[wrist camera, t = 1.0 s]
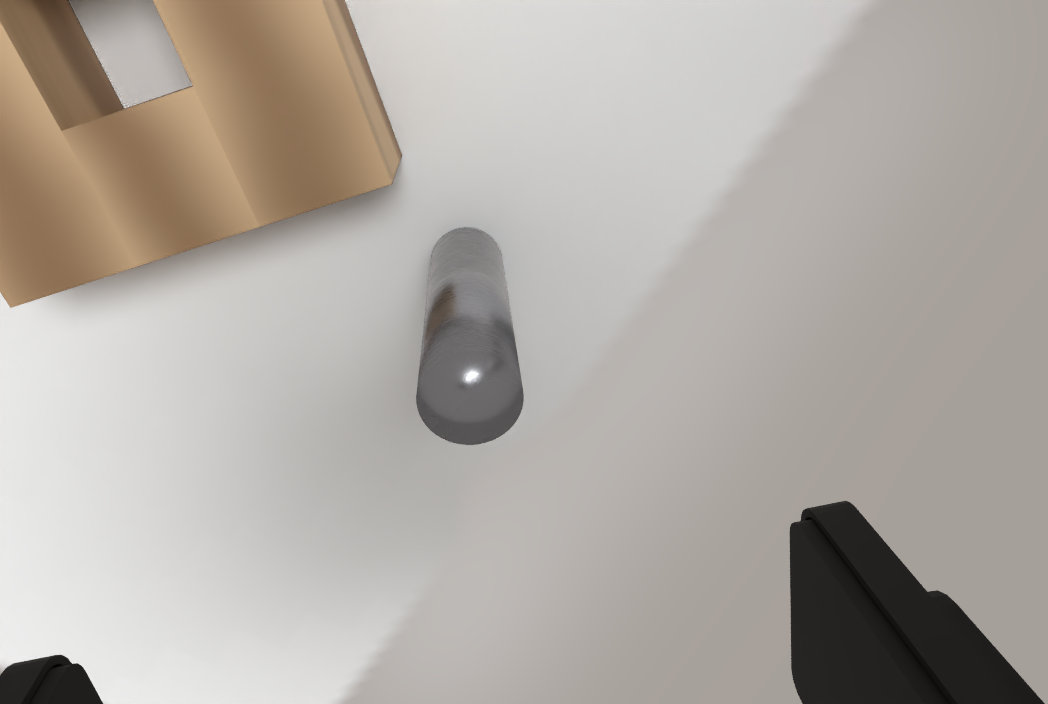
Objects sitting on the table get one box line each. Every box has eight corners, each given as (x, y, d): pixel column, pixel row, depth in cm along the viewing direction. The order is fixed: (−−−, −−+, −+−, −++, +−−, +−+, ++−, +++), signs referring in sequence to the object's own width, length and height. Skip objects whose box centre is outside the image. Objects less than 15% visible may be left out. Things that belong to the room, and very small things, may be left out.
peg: (489, 218, 32) (505, 337, 21) (511, 283, 33) (536, 427, 22) (420, 240, 32) (400, 369, 21) (445, 304, 33) (437, 456, 22)
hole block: (243, -273, 24) (194, -333, 20) (401, 155, 30) (391, 184, 26) (-156, -127, 25) (-290, -152, 21) (75, 261, 31) (10, 307, 27)
